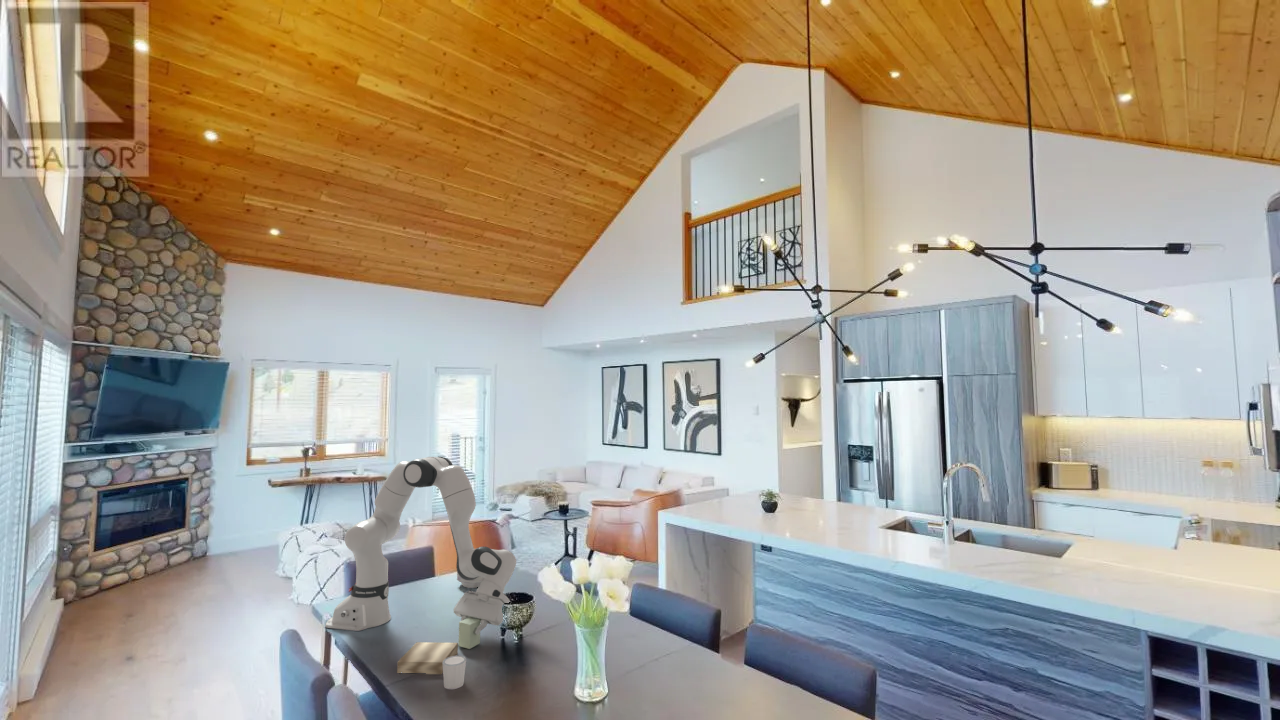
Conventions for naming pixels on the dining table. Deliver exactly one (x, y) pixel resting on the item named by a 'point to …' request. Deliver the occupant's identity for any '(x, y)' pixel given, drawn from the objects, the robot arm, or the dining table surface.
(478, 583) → the light grey bowl
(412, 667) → the block
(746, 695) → the dining table surface
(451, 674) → the shot glass
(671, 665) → the dining table surface
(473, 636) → the sage block
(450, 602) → the dining table surface
